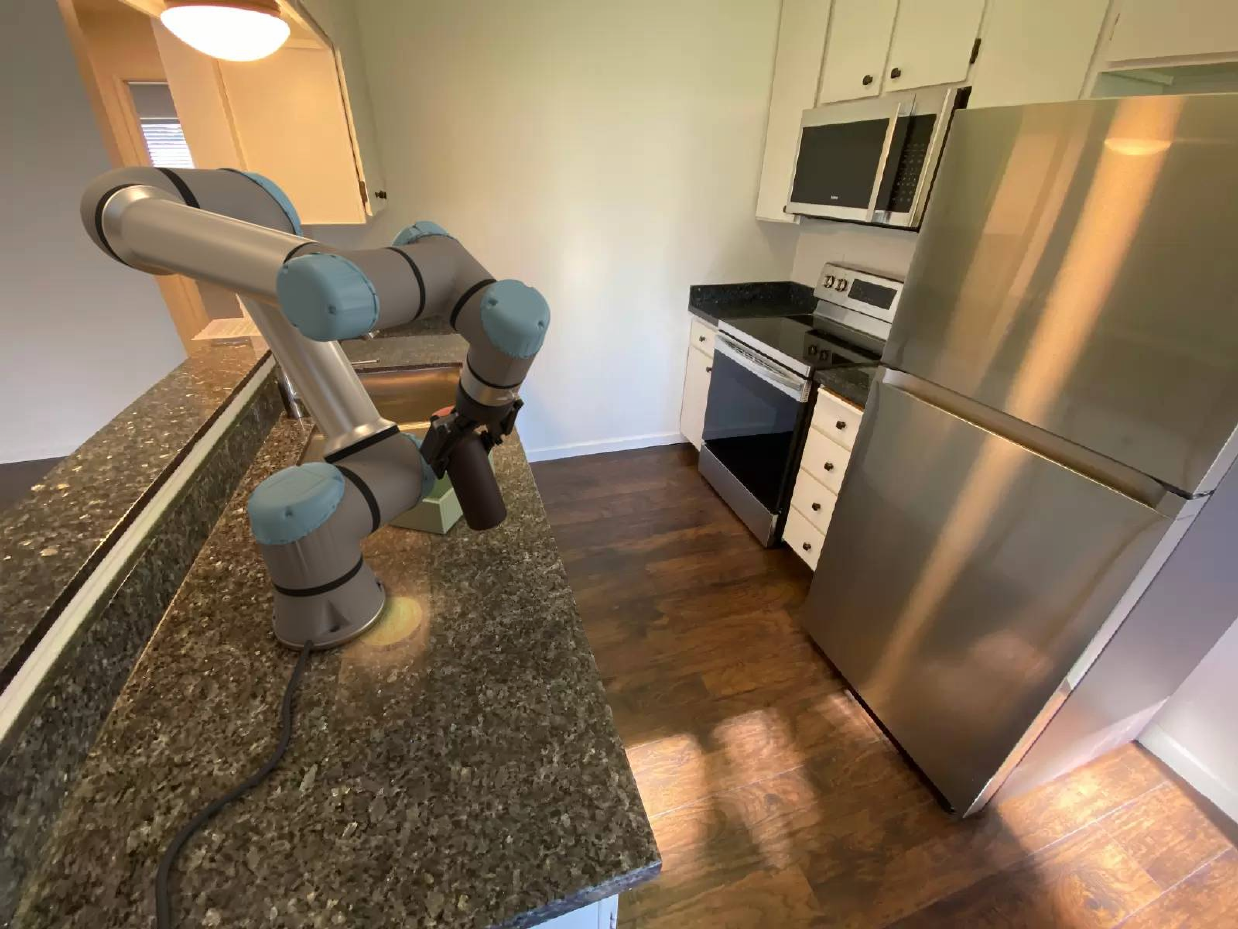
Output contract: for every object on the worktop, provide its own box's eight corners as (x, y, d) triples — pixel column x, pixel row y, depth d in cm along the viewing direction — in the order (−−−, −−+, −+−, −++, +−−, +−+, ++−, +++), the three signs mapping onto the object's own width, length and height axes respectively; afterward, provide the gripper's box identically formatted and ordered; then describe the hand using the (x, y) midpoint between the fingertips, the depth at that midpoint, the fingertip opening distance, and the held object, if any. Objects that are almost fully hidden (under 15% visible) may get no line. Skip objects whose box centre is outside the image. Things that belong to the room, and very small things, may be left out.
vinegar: (510, 506, 91) (473, 399, 83) (504, 527, 85) (463, 413, 76) (473, 514, 91) (432, 408, 83) (464, 535, 85) (419, 423, 77)
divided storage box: (444, 534, 98) (439, 503, 95) (389, 525, 100) (383, 494, 97) (495, 477, 118) (492, 450, 114) (448, 470, 120) (444, 444, 116)
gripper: (430, 432, 61) (410, 507, 79) (565, 387, 73) (520, 461, 91) (401, 381, 62) (388, 466, 81) (537, 345, 74) (499, 427, 92)
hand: (458, 464), depth 86 cm, fingers closed on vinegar, 7 cm apart
